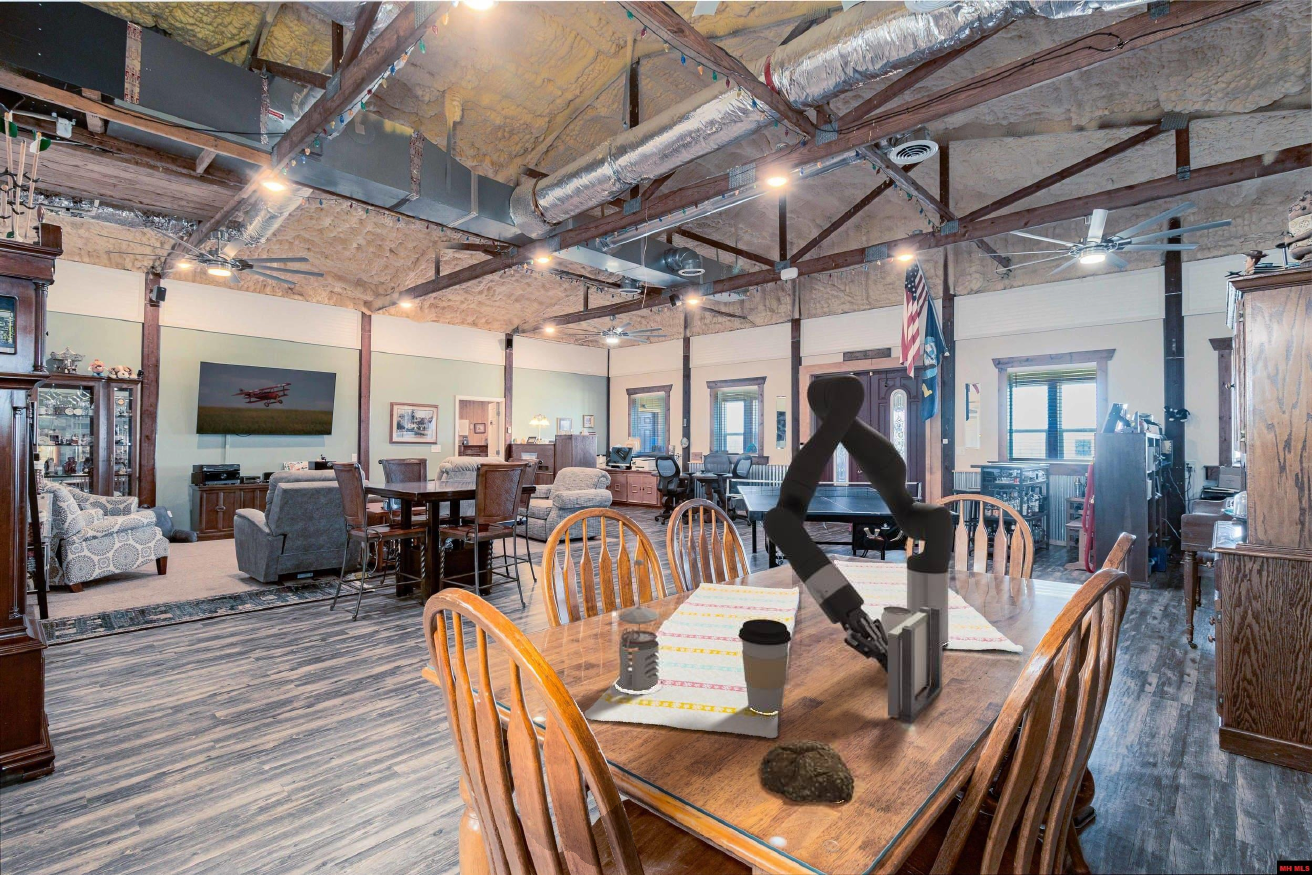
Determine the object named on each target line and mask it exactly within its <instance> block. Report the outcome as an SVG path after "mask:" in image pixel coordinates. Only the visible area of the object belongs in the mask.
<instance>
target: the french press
mask: <svg viewBox="0 0 1312 875" xmlns="http://www.w3.org/2000/svg"><path fill="white" fill-rule="evenodd" d="M634 565H635V566H638V606H633V607H629V608H627V609H625V610H624V611H622V612H621V613H619V615H618V619H619V620H620V621H621V622H623V623H626V624H633V625H635V624H636V625H638V630H635V628H633V629H631V631H628V629H627V627H624V629H623V631H622V632H621V635H620V639H619V644H618V645H619V646H618V657H619V678H618V679H617V680H616V682H615V683H616V684H617V685H618V686H619V687H621V688H622V689H627V690H633V691H642V690H649V689H651V687H653V686H655V685H656V684H657V683H658V680H659V679H660V677H659V675H658V674H659V669H658V668H659V662H657V661H659V658H660V657H659V656H658V655H657V654H659V653H660V652H659V650H660V649H659V645H660V644H659V642H658V641H657V640H656V639H657V638H658V635H657V634H656V633H654V631H651V630H650V631H649V630H641V627H640V626H641V625H642V624H648V623H653V622H655V621H657V620H658V619H659V617H660V614H659V613H658V612H657V611H656V610H654V609H653V608H649V607H645V606H644V607H643V606H641V604H640V603H641V599H640V598H641V595H640V594H641V566H644V565H645V561H644V560H643V559H642V558H636V559H635V560H634ZM630 649H631V651H630ZM634 649H637V650H634ZM629 656H631V657H629ZM630 662H631V663H630ZM657 667H658V668H657ZM629 669H631V670H629Z"/></svg>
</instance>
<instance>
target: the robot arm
mask: <svg viewBox="0 0 1312 875" xmlns="http://www.w3.org/2000/svg"><path fill="white" fill-rule="evenodd" d="M863 384H864V383H863V382H862V381H861V380H860V378H859V377H857V376H856V375H853V374H837V375H835V374H834V375H826V376H820V377H817V378H815V379H813V380H812V381H811V382H810V383H809V385H808V386H807V389H806V399H807V403H808V405H809V407H810V409H811V411H812V413H813V414H814V415H815V416H816V417H817V418H818V419H819V421H820V422H822V423H821V424H820V426H819V427H818V428H817V429H816V431H815V432H814V433H813V434H812V436H811V437H810V438H809V439H808V440H807V442H806V443H805V444H804V445H803V446H802V447H801V448H800V449H799V450H798V451H797V452H796V453H795V455H794V457H793V458H792V460H791V462H790V464H789V466H788V468H787V469H786V470H787V471H786V473H785V475H784V477H783V479H782V481H781V484H780V488H779V497H778V500H777V503H776V506H774V507H771V509H769V510H767V512H766V513H765V514H764V517H763V520H762V526H763V530H764V532H765V534H766V537H767V538H768V539H769V541H771V543H773V544H774V545H775V547H777V548H778V550H779V551H780V553H782V555H783V556H784V557H785V558H786V560H787V562H788V564H789V565H790V567H791V568H792V570H793V572H794V573H795V574H796V576H797V577H798V578H799V579H800V581H801V582H802V583H803V585H804V586H805V587H806V589H807V591H808V593H809V594H810V596H811V597H812V599H813V600H814V601H815V603H816V604H817V605H818V607H819V608H820V609H821V610H822V612H823V613H824V615H825V616H826V617H827V618H828V620H829V621H830V622H831V624H832V625H833V624H834V625H836V624H840V625H841V627H842V629H843V631H844V632H845V633H846V637H845V638H844V639H843V641H844V643H845V644H846V646H848V647H850V648H852V649H853V650H854V651H856V652H857V653H859V654H860V655H862V656H863V657H865V658H866V659H868V660H869V659H870V658H871V659H873V660H876V662H878V664H879V665H880V666H881V668H882V669H883V670H884V671H885V673H886V674H887V675H888V651H887V650H888V647H887V646H888V639H887V636H886V634H885V631H884V629H883V626H882V623H881V619H879V618H875V619H872V618H871V617H870V615H869V614H868V613H867V612H865V611H864V610H863V609H862V606H863V605H864V604H865V601H864V600H865V599H864V598H863V597H862V595H860V594H859V592H858V591H857V590H856V589H855V588H854V586H853V585H852V583H851V582H850V581H849V580H848V579H847V577H846V576H845V575H844V573H843V572H842V571H841V570H840V569H839V568H838V567H836V566H835V564H834V563H833V562H832V561H831V560H830V558H829V557H828V556H827V555H826V553H825V552H824V551H823V549H821V547H820V546H819V545H817V543H816V542H815V541H814V539H812V538H813V537H812V536H811V535H810V534H809V532H808V530H807V529H806V528H805V527H804V525H805V520H806V518H807V514H808V511H809V507H810V504H811V501H812V500H813V497H814V495H815V493H816V492H817V491H816V490H817V488H818V487H819V484H820V481H821V479H822V477H823V474H824V472H825V470H826V468H827V466H828V464H829V462H830V460H831V458H832V456H833V455H834V453H835V451H836V450H837V448H838V446H839V445H840V444H841V445H842V447H843V448H844V449H845V451H847V453H848V454H849V456H850V457H851V458H852V460H853V461H854V463H855V464H856V465H857V466H858V468H859V470H860V471H861V472H862V474H863V475H864V477H865V478H866V480H867V481H868V482H869V483H870V484H871V486H873V488H874V489H875V490H876V492H877V494H878V496H879V497H880V498H881V499H882V501H883V502H884V504H885V506H886V507H887V509H888V511H889V512H890V514H891V516H892V518H893V519H894V521H895V522H896V525H897V526H898V528H899V530H900V531H901V533H903V535H905V537H907V538H909V539H912V540H915V541H920V542H924V543H923V544H924V545H923V549H922V551H921V552H920V553H915V554H911V555H909V556H907V558H906V608H907V609H909V610H911V615H912V616H913V615H915V614H916V613H917V612H919V607H928V608H930V647H931V607H933V606H936V607H942V645H943V644H945V643H947V642H948V643H949V565H950V561H951V558H952V545H953V533H954V532H953V531H954V529H953V528H954V525H953V523H954V522H953V516H952V514H951V511H950V510H949V509H948V507H946V506H945V505H941V504H936V503H935V504H934V503H926V502H919V501H917V500H916V499H915V498H914V497H913V496H912V495H911V493H910V492H909V490H908V488H907V486H906V485H907V484H906V483H907V482H906V481H907V475H908V471H907V470H908V468H907V465H906V464H907V463H906V462H905V460H904V458H903V456H902V455H901V453H900V452H899V450H898V449H897V447H895V445H894V444H893V443H892V441H890V439H888V438H887V437H886V436H885V435H883V434H882V433H880V432H879V431H877V430H876V429H874V428H873V427H871V426H870V425H868V424H867V423H865V422H864V421H863V420H861V419H860V418H859V417H858V416H857V415H858V414H859V413H860V411H861V409H862V407H863V404H864V401H865V396H866V395H865V387H864V385H863Z"/></svg>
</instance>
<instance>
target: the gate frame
mask: <svg viewBox="0 0 1312 875" xmlns="http://www.w3.org/2000/svg"><path fill="white" fill-rule="evenodd" d="M943 685H944V684H943V646H942V607H936V606H933V607H931V646H930V686H927V688H926V689H925V690H924V691H923V692H922V693H921V694H920V695H919V696H918V697H917V698H915V697H916V695H915V627H910V626H904V627H902V709H901V714H900V721H901V722H903V723H907V724H912V723H913V722H914V721H915V720H916V718H917V717H919V716H920V714H921V713H922V712H923V711H924V710H925V709H926V708H927V707H928V706H929V704H930V703H932V701H933V700H934V699H935V698H936V697H937V696H938V695H939V693H941V692H942V690H943V689H944V688H943V687H944V686H943Z"/></svg>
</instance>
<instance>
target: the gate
mask: <svg viewBox="0 0 1312 875" xmlns="http://www.w3.org/2000/svg"><path fill="white" fill-rule="evenodd" d="M904 626H910V627H915V696H916V695H918V693H920V691H921V690H922V689H923V688H924V687H929V686H930V685H931V646H930V608H928V607H919V612H917V613H916V614H915V615H913V616H912V617H910V618H909V619H907V620H906V621H904V622H903V623H902V624H900V625H899V626H897V627H896V628H894V629H893V630H891V631H890V632H888V674H887V716H889V717H891V718H895V719H898V718H899V717H901V711H902V627H904Z"/></svg>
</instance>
